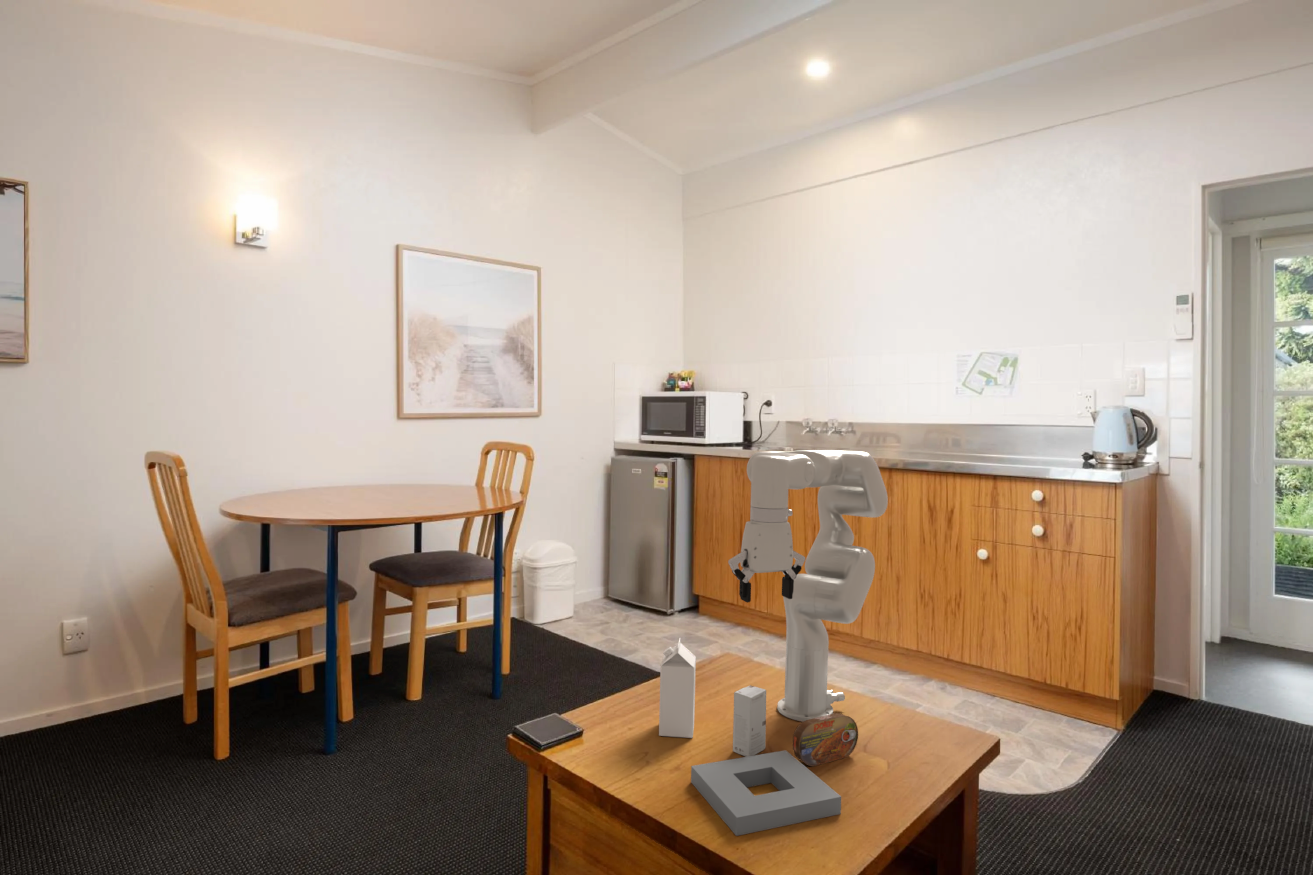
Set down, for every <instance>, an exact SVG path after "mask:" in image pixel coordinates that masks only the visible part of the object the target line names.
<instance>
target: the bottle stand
mask: <svg viewBox="0 0 1313 875" xmlns="http://www.w3.org/2000/svg"><path fill="white" fill-rule="evenodd" d="M690 767H691V770H690V776H691V777H690V783H691V784H692V785H693V786H694V787H695V789H697V791H698V792H699V793H700V795H701V796H702V797H703V798H704V800H706V802H707V803H708V804H709V806H710V807H711V808H712V809H713V810H714V812H716V814H717V815H718V816H719V817H720V818H721V820H722V821H723V822H724V823H725V824H726V826H727V827H728V828H729V829H730V830H731V831H732V833H733V834H734V835H735V836H736V837H738V836H743V835H746V834H752V833H757V832H761V831H762V832H763V831H766V830H770V829H775V828H782V827H785V826H789V825H795V824H800V823H804V822H807V821H812V820H813V821H814V820H818V819H823V818H828V817H832V816H838V815H841V814H842V813H841V812H842V796H841V795H840V794H839V793H837V792H836V791H835V790H834V789H833V788H831V787H830V786H829V784H827V783H826V782H824V780H822V779H821V778H820V777H819V776H817V775H816V774H815V773H814V772H813V771H811V770H810V769H809V768H808V767H807V766H805V765H804V764H803V763H802V762H801V761H799V759H798V758H797V757H794V756H793V755H792V754H791V753H790V752H789V751H787V750H786V749H785V750H780V751H774V752H768V753H761V754H755V755H753V756H748V757H745V756H743V757H737V758H732V759H724V760H720V761H712V762H707V763H701V764H695V765H691V766H690ZM767 784H771V785H773V786H774V787H775V788H776V789H777V790H778V791H772V792H767V793H762V794H756V795H755V794H754V793H752V791H751V790H750V789H749V788H753V787H756V786H762V785H767Z"/></svg>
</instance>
